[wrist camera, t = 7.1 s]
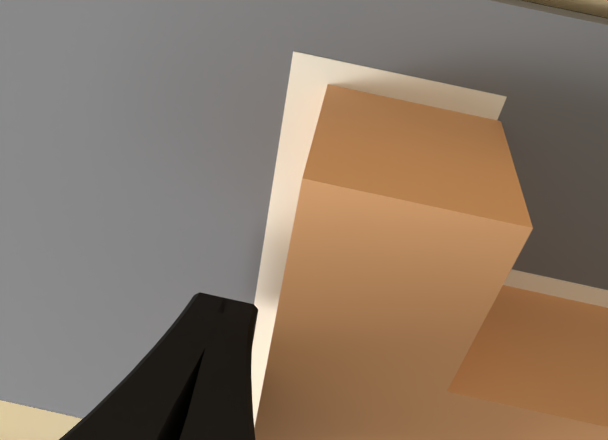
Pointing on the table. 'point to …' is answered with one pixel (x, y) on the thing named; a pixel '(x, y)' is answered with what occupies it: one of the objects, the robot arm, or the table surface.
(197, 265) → the mat
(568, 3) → the table surface
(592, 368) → the t block
